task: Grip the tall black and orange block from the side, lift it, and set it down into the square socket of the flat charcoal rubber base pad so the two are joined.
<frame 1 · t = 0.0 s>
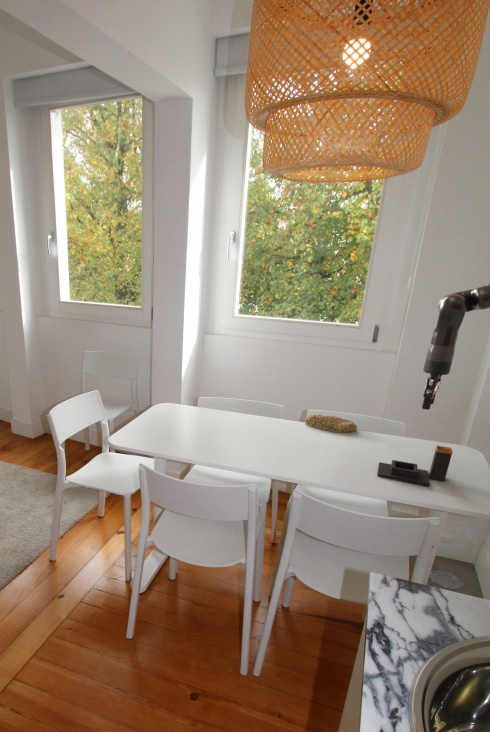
hand: (427, 406, 158), 25 cm above the table, tool pointing down, fingers open, 8 cm apart
sponge: (330, 431, 209), on the table
base pad: (402, 474, 166), on the table
black and orange block: (436, 477, 164), on the table
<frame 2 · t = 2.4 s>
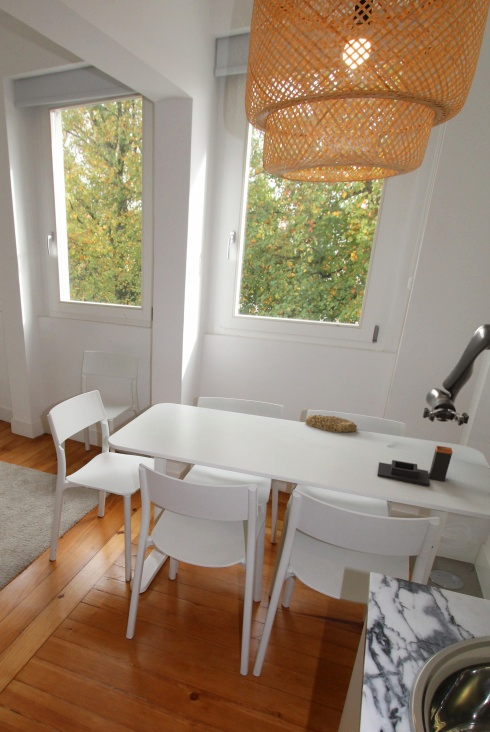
hand: (446, 420, 167), 18 cm above the table, tool horizontal, fingers open, 8 cm apart
nothing on the table moved.
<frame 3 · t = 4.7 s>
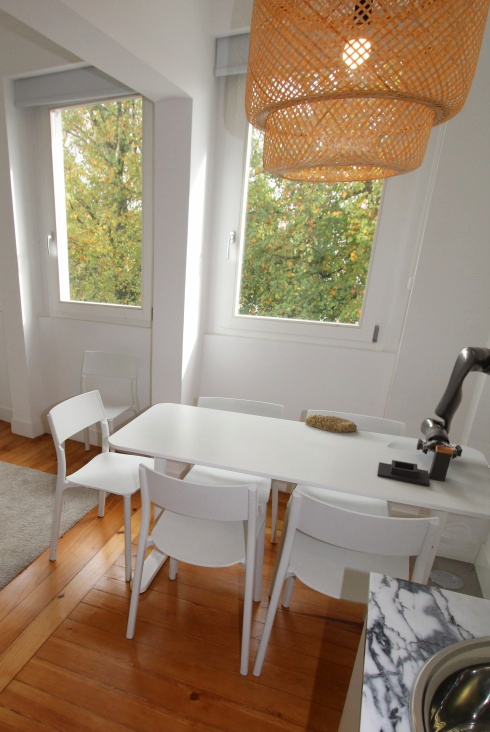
hand: (439, 454, 168), 7 cm above the table, tool horizontal, fingers open, 8 cm apart
nothing on the table moved.
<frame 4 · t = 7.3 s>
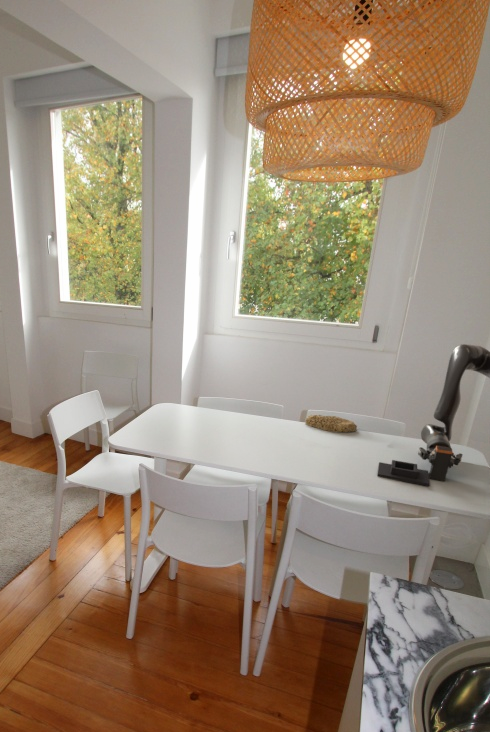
hand: (441, 463, 160), 7 cm above the table, tool horizontal, fingers closed on black and orange block, 4 cm apart
black and orange block: (436, 477, 164), on the table, touching gripper
everything else where it was.
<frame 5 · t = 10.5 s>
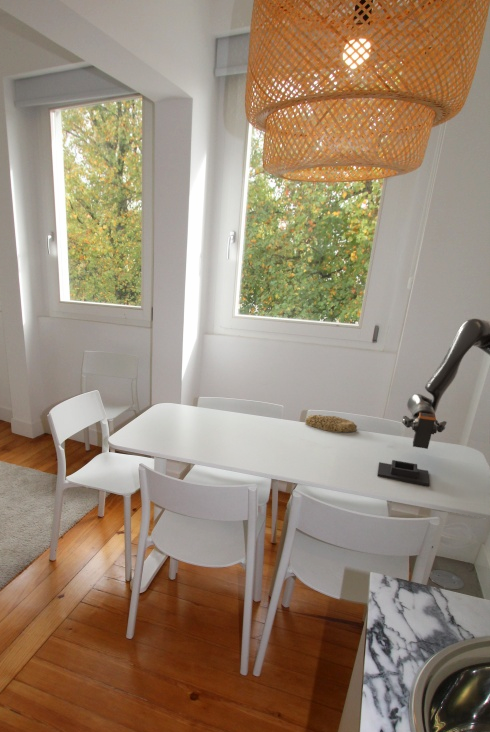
hand: (424, 430, 157), 18 cm above the table, tool horizontal, fingers closed on black and orange block, 4 cm apart
black and orange block: (420, 445, 162), point 11 cm above the table, touching gripper
everything else where it was.
when the fingers open (8 cm above the table, at t = 14.2 s): black and orange block stays where it is, resting on base pad.
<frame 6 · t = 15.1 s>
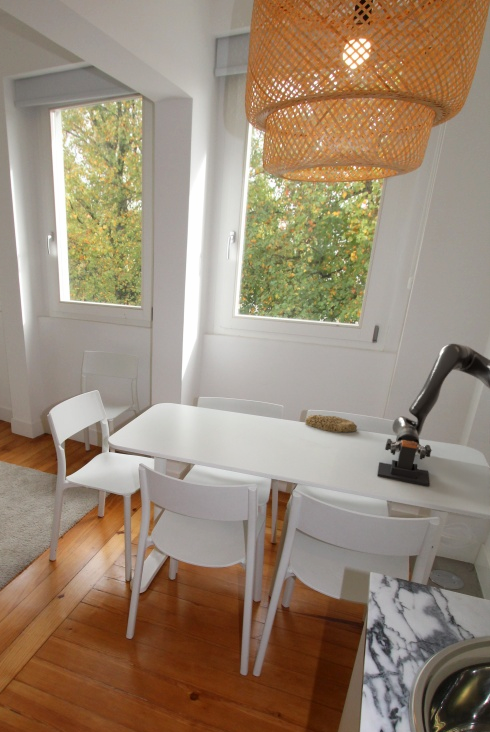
hand: (407, 454, 162), 8 cm above the table, tool horizontal, fingers open, 8 cm apart
black and orange block: (402, 472, 166), point 1 cm above the table, touching base pad
everything else where it was.
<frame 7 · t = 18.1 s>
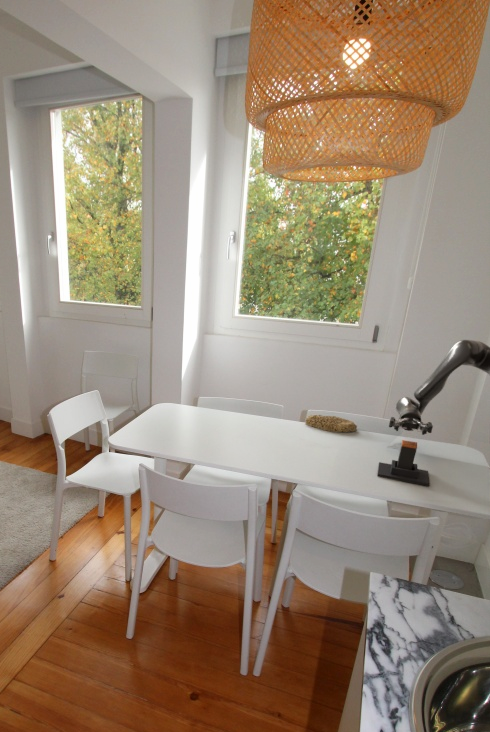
hand: (410, 430, 170), 13 cm above the table, tool horizontal, fingers open, 8 cm apart
nothing on the table moved.
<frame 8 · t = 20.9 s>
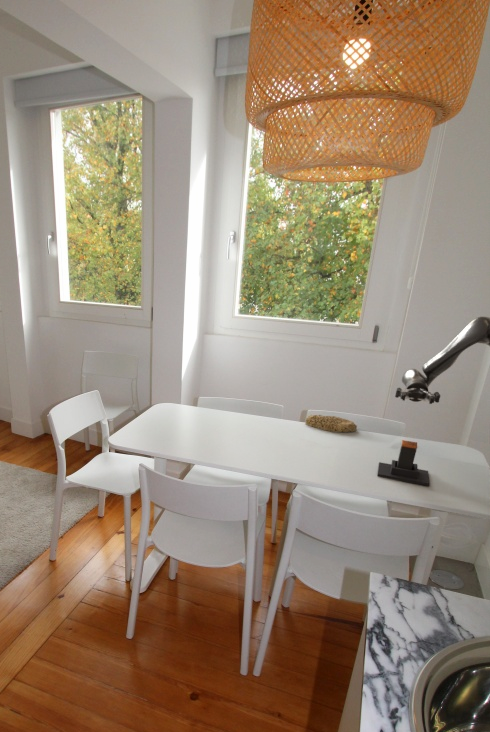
hand: (417, 399, 166), 25 cm above the table, tool horizontal, fingers open, 8 cm apart
nothing on the table moved.
at the end: black and orange block 0.1 cm off-centre on the base pad, point 1.0 cm above the base pad's base; black and orange block tilted 0°; the gripper is holding nothing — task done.
